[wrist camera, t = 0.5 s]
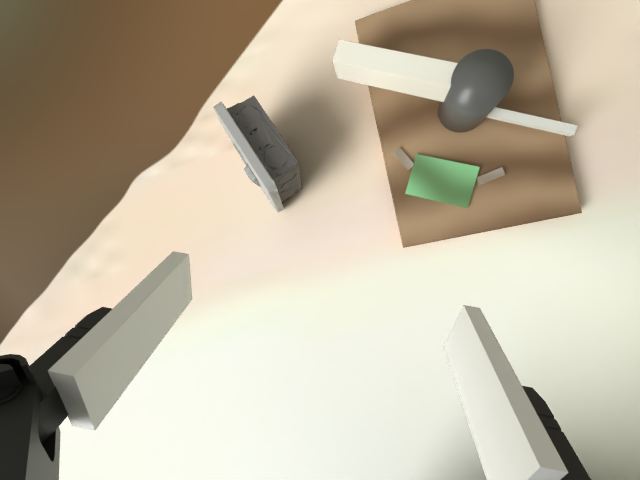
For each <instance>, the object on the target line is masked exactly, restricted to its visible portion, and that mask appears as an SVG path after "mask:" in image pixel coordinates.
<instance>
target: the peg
mask: <svg viewBox="0 0 640 480" xmlns="http://www.w3.org/2000/svg"><path fill="white" fill-rule="evenodd" d="M333 64H334V67H335V71H336V74H337V77H338V79H343V80H347V81H352V82H356V83H361V84H365V85H369V86H374V87H378V88H383V89H387V90H392V91H396V92H401V93H405V94H410V95H414V96H418V97H423V98H427V99H432V100H436V101H440V103H439V107H438V116H439V119H440V122H441V123H442V125H443V126H444V127H446V128H447V129H448V130H450V131H453V132H460V133H461V132H467V131H470V130H472V129H474V128H476V127H477V126H478V125H479V124H480V123H481V122H482V121H483V120H484V119H485V118H491V119H495V120H499V121H504V122H508V123H513V124H517V125H521V126H526V127H530V128H535V129H539V130H543V131H548V132H552V133H556V134H561V135H565V136H570V137H571V136H573V135H574V134H575V132H576V129H577V127H578V125H573V124H569V123H564V122H560V121H555V120H551V119H546V118H542V117H537V116H533V115H528V114H524V113H519V112H514V111H510V110H505V109H501V108H496V106H497V104H498V103H499V102H500V101H501V100H502V99H503V98H504V97H505V96H506V94H507V93H508V92H509V90H510V88H511V86H512V84H513V80H514V70H513V66H512V64H511V62H510V60H509V59H508V58H507V57H506V56H505V55H504V54H503V53H501V52H499V51H496V50H493V49H480V50H476V51H473V52H471V53H469V54H468V55H466V56H465V57H463V58H462V59H461V60H460V61H459V63H454V62H449V61H444V60H439V59H434V58H429V57H424V56H419V55H414V54H409V53H404V52H399V51H394V50H389V49H384V48H379V47H374V46H369V45H364V44H359V43H354V42H349V41H343V40H339V41H338V45H337V48H336V51H335V55H334V58H333Z"/></svg>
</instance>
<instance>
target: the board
mask: <svg viewBox="0 0 640 480" xmlns="http://www.w3.org/2000/svg"><path fill="white" fill-rule="evenodd" d="M355 23H356V30H357V35H358V39H359V44H364V45H369V46H374V47H379V48H384V49H389V50H394V51H399V52H404V53H409V54H414V55H419V56H424V57H429V58H434V59H439V60H444V61H449V62H454V63H459V61H460V60H461V59H462V58H463V57H465V56H466V55H468V54H469V53H471V52H473V51H476V50H480V49H493V50H496V51H499V52H501V53H503V54H504V55H505V56H506V57H507V58H508V59H509V60H510V62H511V64H512V66H513V70H514V80H513V84H512V86H511V88H510V90H509V92H508V93H507V94H506V96H505V97H504V98H503V99H502V100H501V101H500V102H499V103H498V104H497V106H496V108H501V109H505V110H510V111H514V112H519V113H524V114H528V115H533V116H537V117H542V118H546V119H551V120H555V121H560V122H561V118H560V113H559V109H558V105H557V100H556V96H555V91H554V87H553V82H552V78H551V73H550V69H549V65H548V60H547V56H546V51H545V47H544V42H543V38H542V33H541V29H540V25H539V20H538V16H537V11H536V7H535V2H534V0H411V1H408V2H406V3H403V4H400V5H397V6H395V7H392V8H389V9H386V10H384V11H381V12H378V13H375V14H373V15H370V16H367V17H364V18H361V19H359V20H356V21H355ZM368 86H369V85H368ZM369 91H370V95H371V100H372V105H373V109H374V114H375V119H376V123H377V128H378V133H379V137H380V142H381V147H382V151H383V156H384V161H385V165H386V170H387V175H388V179H389V184H390V189H391V193H392V198H393V203H394V207H395V212H396V217H397V221H398V226H399V231H400V235H401V240H402V245H403V247H410V246H415V245H420V244H425V243H430V242H435V241H440V240H445V239H450V238H456V237H461V236H466V235H471V234H476V233H481V232H486V231H491V230H496V229H502V228H507V227H512V226H517V225H522V224H527V223H532V222H537V221H542V220H547V219H553V218H558V217H563V216H568V215H573V214H578V213H582V211H581V207H580V202H579V198H578V193H577V189H576V185H575V180H574V176H573V171H572V167H571V162H570V158H569V153H568V149H567V145H566V140H565V136H564V135H561V134H556V133H552V132H548V131H543V130H539V129H535V128H530V127H526V126H521V125H517V124H513V123H508V122H504V121H499V120H495V119H491V118H485V119H484V120H483V121H482V122H481V123H480V124H479V125H478V126H477V127H476V128H474V129H472V130H470V131H467V132H461V133H460V132H453V131H450V130H448V129H447V128H446V127H444V126H443V125H442V123H441V122H440V119H439V116H438V107H439V103H440V101H436V100H432V99H427V98H423V97H418V96H414V95H410V94H405V93H401V92H396V91H392V90H387V89H383V88H378V87H374V86H369Z"/></svg>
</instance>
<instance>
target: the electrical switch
mask: <svg viewBox="0 0 640 480" xmlns="http://www.w3.org/2000/svg"><path fill="white" fill-rule="evenodd" d="M214 110H215V112H216V114H217V116H218V118H219V120H220V122H221V124H222V126H223V127H224V129H225V131H226V133H227V134H228V136H229V138H230V139H231V141H232V143H233V145H234V146H235V148H236V150H237V151H238V153H239V155H240V157H241V158H242V160H243V161H244V163H245V164H246V166H247V167H246V168H244V170H245V172H246V174H247V175H248V177H249V178H250V179H251V181H252V182H254V183H255V184H257V185H258V186H260V187H261V189H262V190H263V192H264V193H265V195H266V196H267V198H268V200H269V201H270V203H271V204H272V206H273V207H274V208H275V209H276V210H277V212H280V211H282V210H283V209H284V206H283V204H282V202H283V201H285V200H286V199H288V198H290V197H291V196H292V195H293V194H294V193H296V192H298V191H299V190H301V189H302V186H301V176H300V167H299V164H298V163H299V162H298V161H297V159H296V158H295V156H294V155H293V153H292V152H291V150H290V149H289V147H288V146H287V144H286V143H285V141H284V140H283V138H282V137H281V135H280V134H279V132H278V131H277V129H276V128H275V126H274V125H273V123H272V122H271V120H270V119H269V117H268V116H267V114H266V113H265V111H264V110H263V108H262V107H261V105H260V104H259V102H258V101H257V99H256V98H255V96H252V97H251V98H249V99H247V100H246V101H244V102H242V103H238V104H236V105H234V106H232V107H230V108H227V109H226V107H225V106H224V104H223V103H222V102H220V103H219V104H217V105H216V106H215V107H214ZM273 146H274V147H273ZM285 150H286V151H285ZM286 153H287V154H286ZM297 164H298V165H297ZM295 165H296V166H295ZM293 166H294V167H293ZM290 168H291V169H290Z"/></svg>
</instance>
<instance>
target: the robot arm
mask: <svg viewBox="0 0 640 480" xmlns="http://www.w3.org/2000/svg"><path fill="white" fill-rule="evenodd" d="M191 300H192V289H191V276H190V263H189V254H185V253H179V252H174V251H173V252H172V253H171V254H170V255H169V256H168V257H167V258H166V259H165V260H164V261H163V262H161V263H160V264H159V265H158V266H157V267H156V268H155V269H154V270H153V271H152V272H151V273H150V274H149V275H148V276H147V277H146V278H145V279H144V280H143V281H141V282H140V283H139V284H138V285H137V286H136V287H135V288H134V289H133V290H132V291H131V292H130V293H129V294H128V295H127V296H126V297H125V298H124V299H123V300H121V301H120V302H119V303H118V304H117V305H116V306H115V307H114V308H113V309H111V308H106V307H102V308H100V309H98V310H96V311H94V312H92V313H90V314H88V315H87V316H86V317H84V318H83V319H82V320H81V321H80V322H79V323H78V324H77V325H75V328H72V329H71V330H70V331H69V332H67V333H66V334H65V336H64V337H62V338H61V339H60V340H58V341H57V342H56V343H55V344H54V345H53V346H52V347H50V348H49V349H48V350H47V351H46V352H45V353H44V354H43V355H41V356H40V357H39V358H38V359H37V360H36V361H35V362H34V363H32V364H31V365H30V366H29V364H28V362H27V360H26V359H25V358H24V357H22V356H21V355H14V354H8V355H3V356H0V480H59V455H60V429H59V425H60V424H61V423H62V422H63V421H64V419H65V418H66V417H67V416H68V417H69V420H70V422H71V424H72V426H75V427H80V428H85V429H90V430H96V428H97V427H98V426H99V424H100V423H101V422H102V420H103V419H104V418H105V416H106V415H107V414H108V412H109V411H110V409H111V408H112V407H113V405H114V404H115V403H116V401H117V400H118V399H119V397H120V396H121V395H122V393H123V392H124V391H125V389H126V388H127V386H128V385H129V384H130V382H131V381H132V380H133V378H134V377H135V376H136V374H137V373H138V372H139V370H140V369H141V368H142V366H143V365H144V364H145V362H146V361H147V359H148V358H149V357H150V355H151V354H152V353H153V351H154V350H155V349H156V347H157V346H158V345H159V343H160V342H161V341H162V339H163V338H164V336H165V335H166V334H167V332H168V331H169V330H170V328H171V327H172V326H173V324H174V323H175V322H176V320H177V319H178V318H179V316H180V315H181V313H182V312H183V311H184V309H185V308H186V307H187V305H188V304H189V303H190V301H191ZM443 347H444V350H445V353H446V357H447V360H448V363H449V366H450V369H451V372H452V375H453V378H454V381H455V384H456V387H457V390H458V393H459V397H460V400H461V403H462V406H463V409H464V412H465V415H466V418H467V421H468V424H469V427H470V430H471V433H472V436H473V440H474V443H475V446H476V449H477V452H478V455H479V458H480V461H481V464H482V467H483V470H484V473H485V476H486V480H591V479H590V477H589V476H588V474H587V472H586V471H585V469H584V467H583V465H582V464H581V462H580V460H579V459H578V457H577V455H576V453H575V452H574V450H573V448H572V447H571V445H570V443H569V442H568V440H567V438H566V436H565V435H564V433H563V432H561V428H560V426H559V424H558V423H557V421H556V420H555V419H554V416H553V414H552V412H551V411H550V409H549V407H548V406H547V404H546V402H545V401H544V400H543V399H542V398H541V397H540V396H539V394H538V393H537V392H536V391H535V390H534V389H533V388H531V387H526V386H522V385H521V383H520V382H519V380H518V378H517V376H516V374H515V372H514V370H513V369H512V367H511V365H510V363H509V361H508V359H507V357H506V356H505V354H504V352H503V350H502V348H501V346H500V344H499V343H498V341H497V339H496V337H495V335H494V333H493V332H492V330H491V328H490V326H489V324H488V322H487V320H486V319H485V317H484V315H483V313H482V311H481V309H480V308H476V307H471V306H465V305H463V307H462V309H461V311H460V313H459V315H458V317H457V319H456V321H455V323H454V325H453V327H452V329H451V331H450V333H449V335H448V337H447V339H446V341H445V343H444V345H443Z"/></svg>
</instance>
